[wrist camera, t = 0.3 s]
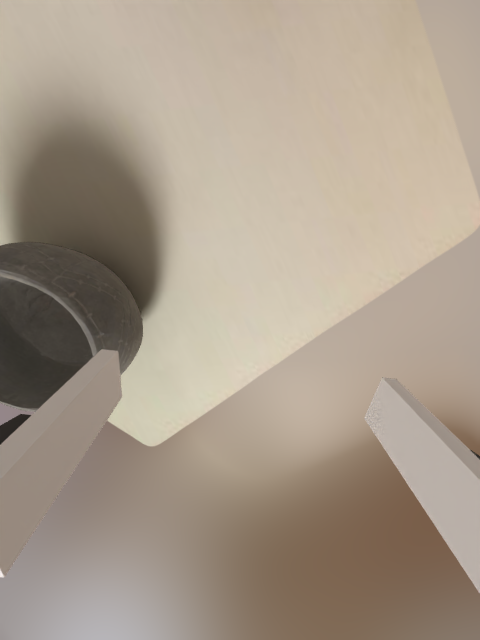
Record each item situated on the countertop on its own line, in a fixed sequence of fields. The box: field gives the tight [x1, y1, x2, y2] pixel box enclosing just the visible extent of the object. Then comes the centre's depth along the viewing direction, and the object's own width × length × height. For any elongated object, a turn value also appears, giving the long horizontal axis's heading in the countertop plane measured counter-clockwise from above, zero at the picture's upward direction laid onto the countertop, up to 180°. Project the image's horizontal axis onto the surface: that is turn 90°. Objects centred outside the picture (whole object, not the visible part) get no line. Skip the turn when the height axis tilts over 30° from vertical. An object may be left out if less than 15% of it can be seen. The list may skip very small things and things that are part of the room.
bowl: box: [0, 242, 143, 412], centre depth 32 cm, size 21×21×15 cm
